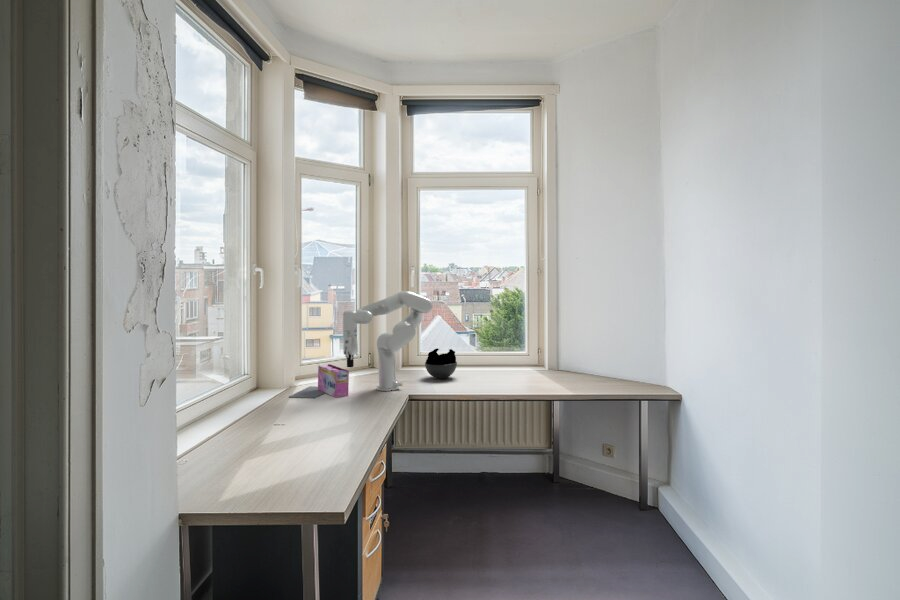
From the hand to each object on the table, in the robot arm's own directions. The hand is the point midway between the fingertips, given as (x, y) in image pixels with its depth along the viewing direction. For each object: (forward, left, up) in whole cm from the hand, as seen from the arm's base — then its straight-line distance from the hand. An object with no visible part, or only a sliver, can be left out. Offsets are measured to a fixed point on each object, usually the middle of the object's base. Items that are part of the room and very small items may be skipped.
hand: (350, 367), depth 274 cm
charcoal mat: (+23, 0, -15) cm, 27 cm away
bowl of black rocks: (-41, -46, -15) cm, 64 cm away
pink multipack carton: (+11, 0, -15) cm, 18 cm away
